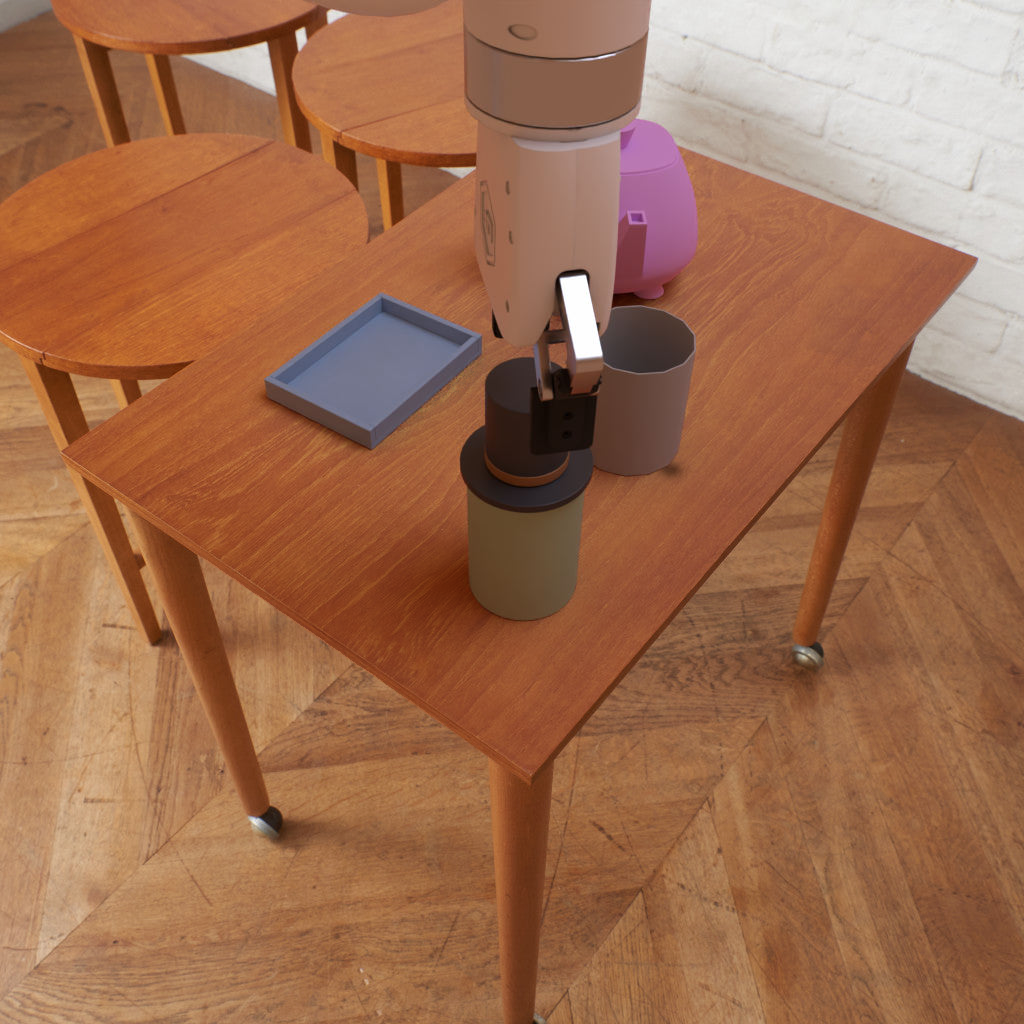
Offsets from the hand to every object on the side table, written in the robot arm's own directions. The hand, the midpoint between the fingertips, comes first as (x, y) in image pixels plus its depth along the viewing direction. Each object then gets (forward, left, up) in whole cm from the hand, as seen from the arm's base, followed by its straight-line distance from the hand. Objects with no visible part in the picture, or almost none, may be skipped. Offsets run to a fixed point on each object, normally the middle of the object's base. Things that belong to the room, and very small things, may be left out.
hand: (539, 387), depth 56 cm
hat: (+1, +4, -10) cm, 11 cm away
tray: (-5, +29, -21) cm, 36 cm away
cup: (+13, +16, -21) cm, 30 cm away
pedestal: (+1, +4, -21) cm, 21 cm away
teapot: (+17, +38, -21) cm, 47 cm away
